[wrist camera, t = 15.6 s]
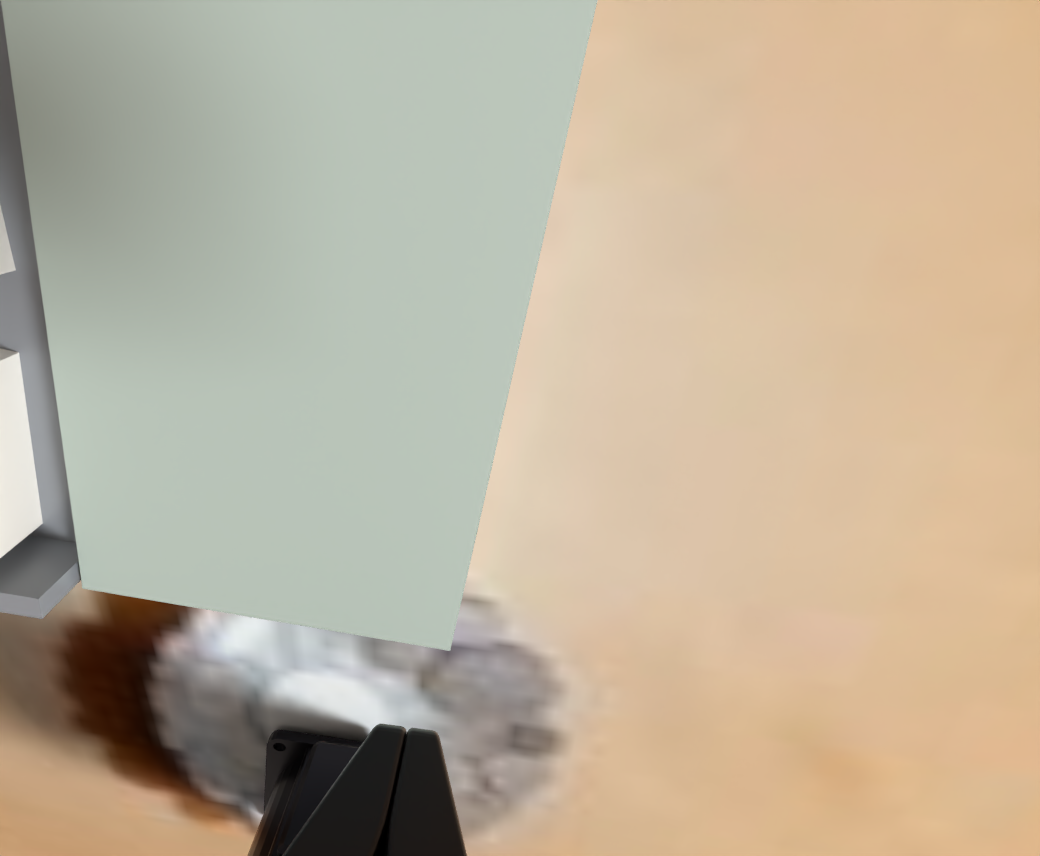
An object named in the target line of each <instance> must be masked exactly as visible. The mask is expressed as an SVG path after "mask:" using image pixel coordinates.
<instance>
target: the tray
mask: <svg viewBox="0 0 1040 856" xmlns="http://www.w3.org/2000/svg"><path fill="white" fill-rule="evenodd" d="M0 206H1V210H2V214H3V218H4V222H5V227H6V231H7V235H8V239H9V244H10V248H11V252H12V256H13V260H14V265H15V269H16V270H15V271H11V272H8V273H4V274H1V275H0V348H1V349H5V350H10V351H15V352H19V356H20V363H21V371H22V378H23V385H24V392H25V399H26V406H27V414H28V421H29V428H30V435H31V442H32V450H33V457H34V464H35V471H36V478H37V485H38V493H39V500H40V507H41V514H42V521H43V524H41V525H40V526H39V527H38V528H37V529H35V530H34V531H33V532H32V533H30V534H29V535H28V536H27V537H26V538H24V539H23V540H22V541H21V542H19V543H18V544H17V545H16V546H15V547H13V548H12V549H11V550H10V551H8V552H7V553H6V554H5V555H4V556H2V557H1V558H0V612H3V613H9V614H15V615H21V616H27V617H33V618H39V619H43V618H44V617H45V616H46V615H47V614H48V613H49V612H50V611H51V610H52V609H53V608H54V607H55V606H56V605H57V604H58V603H59V602H60V601H61V600H62V598H63V597H64V596H65V595H66V594H67V593H68V592H69V591H70V590H71V589H72V588H73V587H74V586H75V585H76V584H77V583H78V582H79V581H80V580H81V574H80V567H79V559H78V552H77V545H76V538H75V531H74V523H73V516H72V509H71V502H70V495H69V487H68V480H67V473H66V466H65V459H64V451H63V444H62V437H61V430H60V422H59V415H58V408H57V401H56V394H55V386H54V379H53V372H52V365H51V358H50V350H49V343H48V336H47V329H46V322H45V314H44V307H43V300H42V293H41V286H40V278H39V271H38V264H37V257H36V250H35V242H34V235H33V228H32V221H31V214H30V206H29V199H28V192H27V185H26V178H25V170H24V163H23V156H22V149H21V141H20V134H19V127H18V120H17V113H16V105H15V98H14V91H13V84H12V77H11V69H10V62H9V55H8V48H7V41H6V33H5V26H4V19H3V12H2V5H1V0H0Z"/></svg>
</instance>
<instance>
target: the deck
mask: <svg viewBox="0 0 1040 856" xmlns="http://www.w3.org/2000/svg"><path fill="white" fill-rule="evenodd" d="M596 4H597V0H1V5H2V12H3V19H4V26H5V33H6V41H7V48H8V55H9V62H10V69H11V77H12V84H13V91H14V98H15V105H16V113H17V120H18V127H19V134H20V141H21V149H22V156H23V163H24V170H25V178H26V185H27V192H28V199H29V206H30V214H31V221H32V228H33V235H34V242H35V250H36V257H37V264H38V271H39V278H40V286H41V293H42V300H43V307H44V314H45V322H46V329H47V336H48V343H49V350H50V358H51V365H52V372H53V379H54V386H55V394H56V401H57V408H58V415H59V422H60V430H61V437H62V444H63V451H64V459H65V466H66V473H67V480H68V487H69V495H70V502H71V509H72V516H73V523H74V531H75V538H76V545H77V552H78V559H79V567H80V574H81V581H82V588H83V589H89V590H94V591H100V592H106V593H112V594H118V595H124V596H130V597H136V598H142V599H148V600H153V601H159V602H165V603H171V604H177V605H183V606H189V607H195V608H201V609H207V610H212V611H218V612H224V613H230V614H236V615H242V616H248V617H254V618H260V619H266V620H271V621H277V622H283V623H289V624H295V625H301V626H307V627H313V628H319V629H324V630H330V631H336V632H342V633H348V634H354V635H360V636H366V637H372V638H378V639H383V640H389V641H395V642H401V643H407V644H413V645H419V646H425V647H431V648H437V649H442V650H448V651H450V649H451V644H452V640H453V636H454V631H455V627H456V622H457V618H458V613H459V609H460V605H461V600H462V596H463V591H464V587H465V583H466V578H467V574H468V569H469V565H470V560H471V556H472V552H473V547H474V543H475V538H476V534H477V530H478V525H479V521H480V516H481V512H482V508H483V503H484V499H485V494H486V490H487V485H488V481H489V477H490V472H491V468H492V463H493V459H494V455H495V450H496V446H497V441H498V437H499V432H500V428H501V424H502V419H503V415H504V410H505V406H506V402H507V397H508V393H509V388H510V384H511V379H512V375H513V371H514V366H515V362H516V357H517V353H518V349H519V344H520V340H521V335H522V331H523V326H524V322H525V318H526V313H527V309H528V304H529V300H530V296H531V291H532V287H533V282H534V278H535V274H536V269H537V265H538V260H539V256H540V251H541V247H542V243H543V238H544V234H545V229H546V225H547V221H548V216H549V212H550V207H551V203H552V198H553V194H554V190H555V185H556V181H557V176H558V172H559V168H560V163H561V159H562V154H563V150H564V145H565V141H566V137H567V132H568V128H569V123H570V119H571V115H572V110H573V106H574V101H575V97H576V92H577V88H578V84H579V79H580V75H581V70H582V66H583V62H584V57H585V53H586V48H587V44H588V40H589V35H590V31H591V26H592V22H593V17H594V13H595V9H596Z"/></svg>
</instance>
